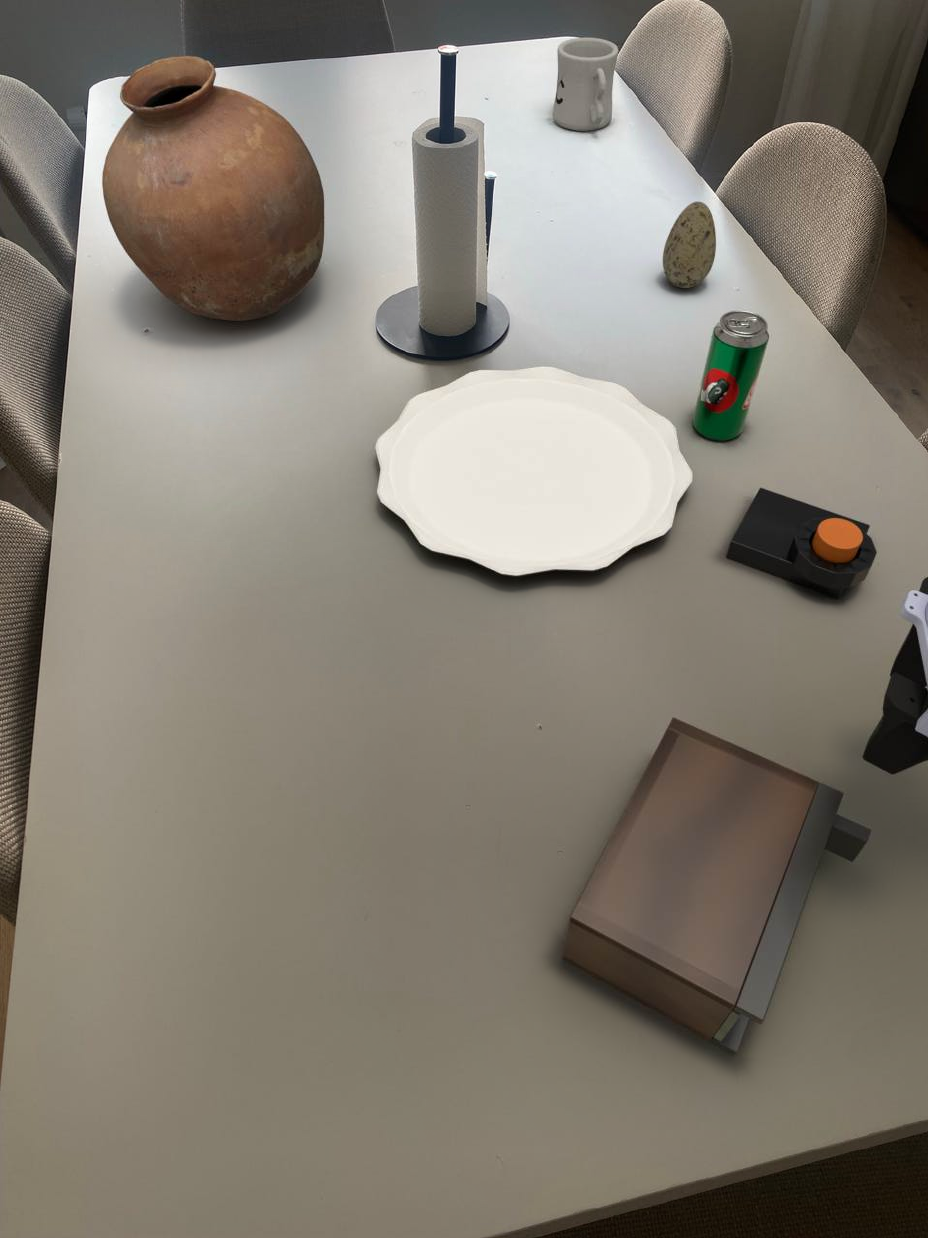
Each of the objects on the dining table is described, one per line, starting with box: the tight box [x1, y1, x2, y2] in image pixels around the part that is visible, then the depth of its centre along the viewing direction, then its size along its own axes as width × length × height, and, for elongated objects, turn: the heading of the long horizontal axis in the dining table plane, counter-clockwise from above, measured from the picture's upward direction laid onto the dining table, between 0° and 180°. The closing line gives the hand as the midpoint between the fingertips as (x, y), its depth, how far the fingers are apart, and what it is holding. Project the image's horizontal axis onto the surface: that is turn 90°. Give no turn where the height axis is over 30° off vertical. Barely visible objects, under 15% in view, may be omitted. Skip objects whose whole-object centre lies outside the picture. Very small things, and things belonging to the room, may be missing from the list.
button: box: [812, 518, 863, 563], centre depth 76 cm, size 4×4×2 cm
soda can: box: [692, 310, 770, 442], centre depth 88 cm, size 5×5×12 cm
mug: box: [552, 37, 619, 132], centre depth 136 cm, size 12×9×10 cm
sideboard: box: [560, 717, 845, 1056], centre depth 58 cm, size 12×16×7 cm
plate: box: [374, 365, 693, 578], centre depth 87 cm, size 29×29×2 cm
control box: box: [725, 487, 878, 601], centre depth 79 cm, size 11×9×4 cm
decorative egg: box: [662, 201, 717, 289], centre depth 106 cm, size 6×6×10 cm
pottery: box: [101, 55, 325, 322], centre depth 99 cm, size 23×23×25 cm
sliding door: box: [824, 813, 872, 863], centre depth 58 cm, size 3×8×5 cm, turn 150°
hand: (892, 719), depth 58 cm, fingers open, 7 cm apart
